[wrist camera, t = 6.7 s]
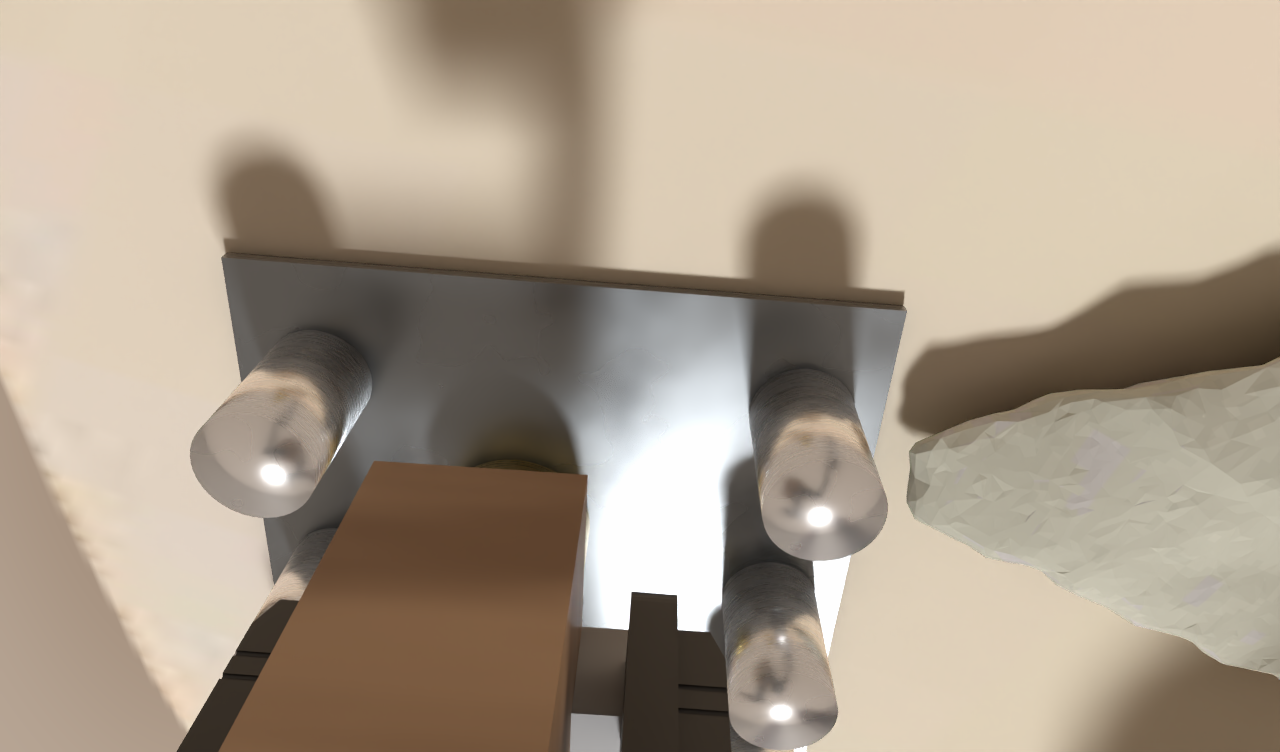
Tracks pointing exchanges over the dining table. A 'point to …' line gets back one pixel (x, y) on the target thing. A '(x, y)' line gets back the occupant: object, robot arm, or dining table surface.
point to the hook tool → (444, 625)
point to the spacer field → (582, 440)
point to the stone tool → (1130, 502)
